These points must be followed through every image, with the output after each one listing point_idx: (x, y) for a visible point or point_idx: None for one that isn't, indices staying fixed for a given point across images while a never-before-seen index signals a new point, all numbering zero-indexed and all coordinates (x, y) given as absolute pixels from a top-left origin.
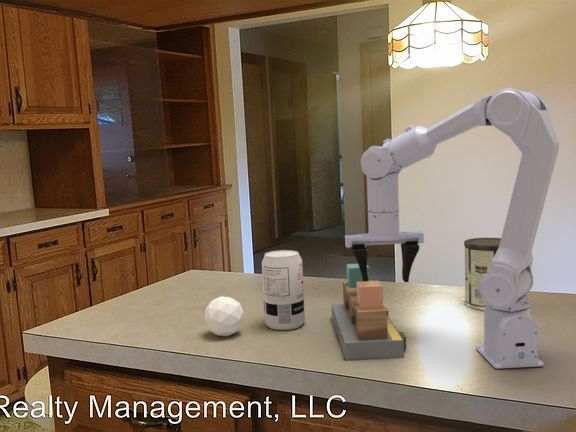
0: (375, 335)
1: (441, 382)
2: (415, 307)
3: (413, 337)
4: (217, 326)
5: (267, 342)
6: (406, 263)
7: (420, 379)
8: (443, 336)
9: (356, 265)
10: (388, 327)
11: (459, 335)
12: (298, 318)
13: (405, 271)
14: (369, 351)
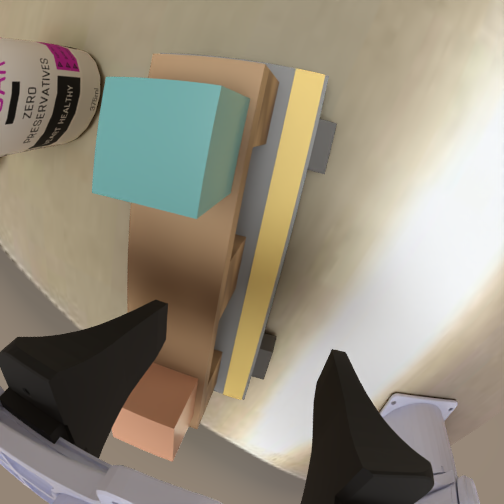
0: None
1: (260, 445)
2: (463, 68)
3: (328, 299)
4: None
5: (37, 200)
6: (310, 459)
7: (238, 432)
8: (394, 319)
9: (143, 130)
10: (244, 335)
11: (426, 326)
12: (70, 134)
13: (315, 421)
14: None
